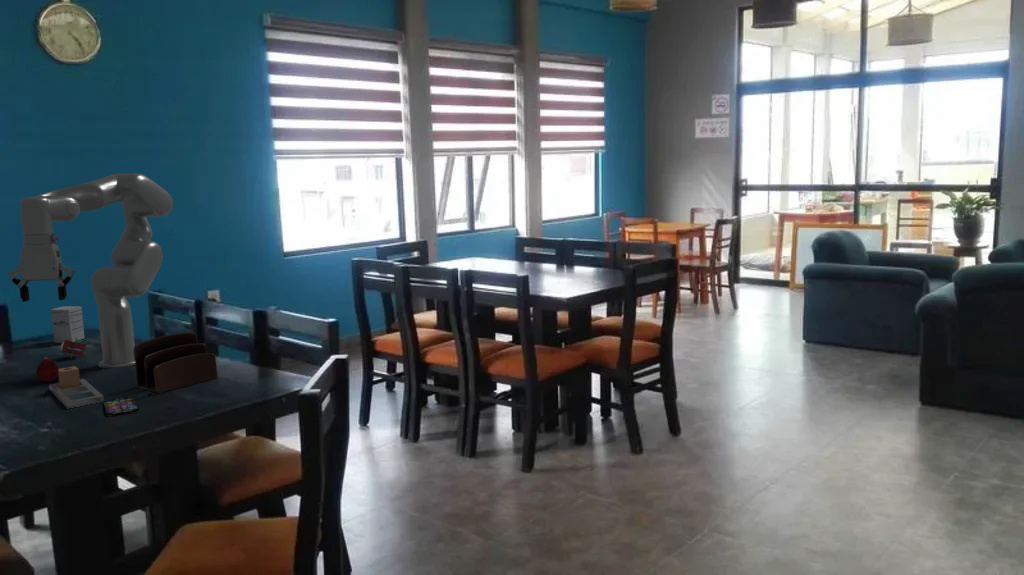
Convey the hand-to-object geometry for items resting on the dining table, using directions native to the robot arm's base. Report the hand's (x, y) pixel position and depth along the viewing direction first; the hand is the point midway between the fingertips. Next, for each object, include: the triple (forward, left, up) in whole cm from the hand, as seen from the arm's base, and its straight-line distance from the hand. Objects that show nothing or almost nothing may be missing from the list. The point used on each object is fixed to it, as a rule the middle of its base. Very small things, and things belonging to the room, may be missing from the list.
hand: (44, 300), depth 236 cm
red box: (-13, -38, -26) cm, 48 cm away
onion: (0, -6, -26) cm, 26 cm away
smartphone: (-10, +36, -26) cm, 46 cm away
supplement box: (-17, -68, -26) cm, 75 cm away
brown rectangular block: (-3, +9, -25) cm, 27 cm away
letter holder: (-29, +22, -26) cm, 44 cm away
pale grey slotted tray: (-3, +17, -26) cm, 31 cm away
